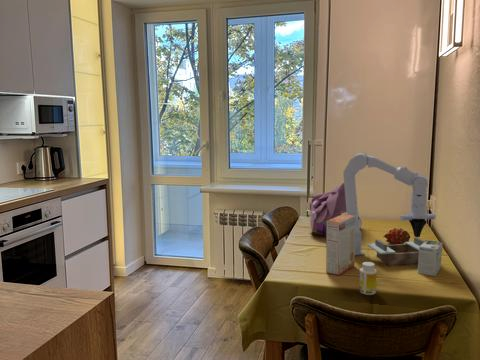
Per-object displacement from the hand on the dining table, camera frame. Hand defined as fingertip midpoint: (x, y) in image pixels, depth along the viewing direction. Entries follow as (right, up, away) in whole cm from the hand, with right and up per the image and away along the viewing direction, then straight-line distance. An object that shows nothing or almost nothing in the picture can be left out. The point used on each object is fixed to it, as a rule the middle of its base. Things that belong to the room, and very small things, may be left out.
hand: (416, 236), depth 181 cm
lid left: (-16, -5, -2) cm, 16 cm away
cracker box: (-34, -12, -9) cm, 37 cm away
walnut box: (-7, -10, 0) cm, 12 cm away
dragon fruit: (0, -7, +22) cm, 23 cm away
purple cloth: (-26, -4, +46) cm, 52 cm away
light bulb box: (0, -12, -12) cm, 17 cm away
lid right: (+2, -4, +1) cm, 5 cm away
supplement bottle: (-30, -15, -32) cm, 46 cm away
